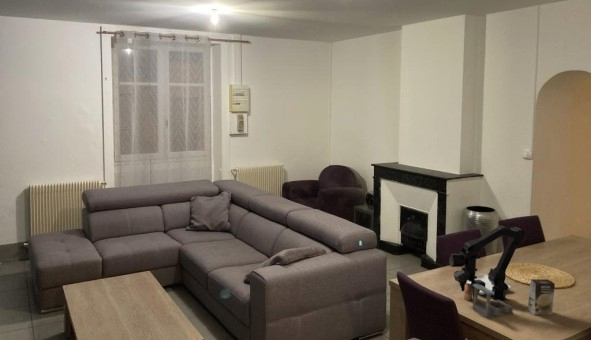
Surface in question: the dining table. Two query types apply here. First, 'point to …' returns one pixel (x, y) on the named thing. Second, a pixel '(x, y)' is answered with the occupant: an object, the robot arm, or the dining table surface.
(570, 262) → the dining table surface
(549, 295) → the coffee box
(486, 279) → the salad plate
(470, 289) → the peg
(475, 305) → the socket block
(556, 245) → the dining table surface
